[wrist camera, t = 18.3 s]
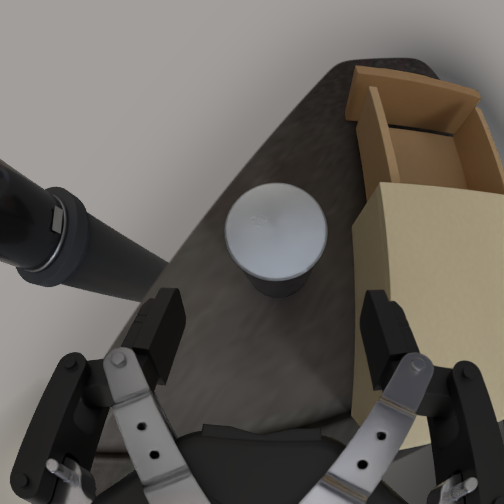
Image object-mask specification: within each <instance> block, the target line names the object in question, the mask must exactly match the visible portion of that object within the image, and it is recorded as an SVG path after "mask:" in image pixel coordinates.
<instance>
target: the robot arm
mask: <svg viewBox="0 0 504 504" xmlns="http://www.w3.org/2000/svg"><path fill="white" fill-rule="evenodd" d="M68 224H69V219H68V212H67V208H66V206H65V204H64V202H63V201H62V200H61V199H60V198H58V197H56V196H55V195H52V194H50V193H49V192H47V191H46V190H44V189H43V188H41V187H40V186H38V185H37V184H36V183H34V182H33V181H31V180H29V179H28V178H27V177H25V176H24V175H22V174H21V173H19V172H18V171H17V170H15V169H14V168H12V167H11V166H9V165H8V164H6V163H5V162H4V161H2V160H1V159H0V261H1V262H4V263H7V264H10V265H13V266H16V267H19V268H22V269H24V270H26V271H29V272H33V273H39V272H42V271H44V270H46V269H47V268H49V267H50V266H51V265H52V264H53V263H54V262H55V260H56V259H57V257H58V256H59V254H60V252H61V250H62V248H63V246H64V243H65V240H66V237H67V232H68ZM185 324H186V315H185V311H184V307H183V303H182V299H181V295H180V291H179V289H178V288H160V290H159V292H158V294H157V296H156V298H155V299H152V298H150V299H149V300H148V301H147V302H146V303H144V304H143V305H142V307H141V309H140V310H139V312H138V316H136V318H135V320H134V323H133V324H132V326H131V328H130V330H129V332H128V334H127V336H126V338H125V339H124V341H123V343H122V345H121V347H119V348H115V349H113V350H111V351H110V352H109V353H108V354H107V355H106V356H105V358H104V359H99V360H90V361H87V360H86V359H85V357H84V356H83V355H82V354H81V353H77V352H73V353H69V354H67V355H65V356H64V357H63V358H62V359H61V360H60V362H59V363H58V365H57V367H56V369H55V371H54V373H53V375H52V377H51V379H50V381H49V383H48V385H47V387H46V389H45V391H44V393H43V396H42V397H41V400H40V402H39V404H38V406H37V408H36V411H35V413H34V415H33V417H32V420H31V422H30V424H29V427H28V429H27V432H26V434H25V437H24V439H23V442H22V444H21V447H20V449H19V452H18V455H17V458H16V460H15V463H14V466H13V469H12V472H11V475H10V484H11V487H12V490H13V491H14V492H15V494H16V495H18V496H19V497H20V498H22V499H24V500H26V501H28V502H31V503H32V504H408V503H407V502H406V501H405V500H404V499H403V498H402V497H400V496H399V495H398V494H397V493H396V492H395V491H393V489H392V488H391V487H389V486H388V485H387V484H386V483H385V482H384V481H383V480H382V477H383V475H384V474H385V472H386V471H387V469H388V468H389V466H390V464H391V463H392V461H393V459H394V458H395V456H396V454H397V453H398V451H399V449H400V447H401V445H402V444H403V442H404V440H405V438H406V436H407V434H408V432H409V431H410V429H411V427H412V425H413V423H414V421H415V418H416V416H417V415H419V416H426V417H427V422H428V427H429V433H430V439H431V445H432V452H433V459H434V466H435V475H436V485H437V486H436V487H434V488H433V489H432V490H431V492H430V493H429V495H428V498H427V504H504V445H503V441H502V438H501V433H500V429H499V426H498V422H497V419H496V415H495V412H494V409H493V406H492V402H491V399H490V396H489V393H488V390H487V387H486V385H485V382H484V379H483V376H482V374H481V371H480V369H479V368H478V367H477V365H475V364H474V363H472V362H470V361H466V360H462V361H459V362H457V363H456V364H455V365H454V367H453V368H445V367H439V366H435V365H433V363H432V361H431V360H430V359H429V358H428V357H427V356H425V355H424V354H421V353H420V351H419V348H418V346H417V343H416V340H415V338H414V335H413V333H412V330H411V328H410V327H409V323H408V320H407V319H406V315H405V313H404V311H403V308H402V307H401V306H400V305H399V304H398V303H397V302H396V301H389V300H388V297H387V295H386V292H385V290H383V289H380V290H367V291H366V293H365V297H364V302H363V306H362V310H361V314H360V322H359V325H360V332H361V336H362V341H363V345H364V349H365V353H366V358H367V362H368V367H369V372H370V377H371V381H372V386H373V391H378V390H382V395H381V396H380V397H379V399H378V400H377V402H376V403H375V405H374V407H373V408H372V410H371V411H370V413H369V414H368V416H367V418H366V419H365V421H364V422H363V424H362V425H361V426H360V428H359V429H358V431H357V432H356V434H355V435H354V437H353V438H352V439H351V441H350V442H349V444H348V445H347V446H346V445H345V444H343V443H342V442H340V441H338V440H336V439H333V438H330V437H327V436H322V435H321V428H312V429H289V430H285V431H280V432H275V433H270V434H265V435H259V434H255V433H251V432H248V431H244V430H241V429H238V428H234V427H230V426H219V425H209V424H203V428H202V431H198V432H193V433H190V434H186V435H184V436H182V437H180V438H178V436H177V435H176V433H175V431H174V429H173V428H172V426H171V424H170V422H169V420H168V418H167V416H166V414H165V412H164V410H163V408H162V406H161V404H160V402H159V400H158V398H157V396H156V394H155V392H154V390H155V387H156V384H159V385H166V382H167V379H168V376H169V373H170V370H171V367H172V364H173V361H174V358H175V355H176V352H177V349H178V346H179V343H180V340H181V337H182V334H183V331H184V329H185ZM110 407H112V409H113V412H114V415H115V418H116V421H117V424H118V427H119V429H120V432H121V435H122V437H123V440H124V443H125V445H126V448H127V450H128V453H129V455H130V457H131V460H132V462H133V465H134V467H135V469H136V470H134V471H133V472H131V473H130V474H129V475H127V476H126V477H124V478H123V479H121V480H120V481H119V482H117V483H116V484H114V485H113V486H111V487H110V488H108V489H107V490H105V491H104V492H102V493H100V494H99V495H98V496H97V497H96V494H95V492H96V487H95V479H94V477H93V475H92V474H91V473H90V470H91V467H92V463H93V460H94V456H95V453H96V449H97V446H98V443H99V440H100V436H101V433H102V430H103V427H104V424H105V421H106V418H107V415H108V412H109V409H110Z"/></svg>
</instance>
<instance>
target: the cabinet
mask: <svg viewBox="0 0 504 504" xmlns="http://www.w3.org/2000/svg"><path fill="white" fill-rule="evenodd" d="M352 238H353V255H354V279H355V356H354V379H353V395H352V409H351V416H352V417H353V418H354V419H355V421H356V422H357V423H358V424H359V426H361V425H362V424H363V422H364V421H365V419H366V418H367V416H368V414H369V413H370V411H371V410H372V408H373V407H374V405H375V403H376V402H377V400H378V399H379V397H380V396H381V395H382V390H378V391H373V386H372V381H371V377H370V372H369V367H368V362H367V358H366V353H365V349H364V345H363V341H362V336H361V332H360V325H359V322H360V314H361V310H362V306H363V302H364V297H365V293H366V291H367V290H380V289H383V290H385V292H386V295H387V297H388V300H389V301H396V302H397V303H398V304H399V305H400V306H401V307H402V308H403V311H404V313H405V315H406V319H407V320H408V323H409V327H410V328H411V330H412V333H413V335H414V338H415V340H416V343H417V346H418V348H419V351H420V353H421V354H424V355H425V356H427V357H428V358H429V359H430V360H431V361H432V363H433V365H435V366H439V367H445V368H453V367H454V365H455V364H456V363H457V362H459V361H462V360H466V361H470V362H472V363H474V364H475V365H477V367H478V368H479V369H480V371H481V374H482V376H483V379H484V382H485V385H486V387H487V390H488V393H489V396H490V399H491V402H492V406H493V409H494V412H495V415H496V419H497V422H499V421H501V420H504V195H502V194H496V193H489V192H481V191H474V190H466V189H457V188H448V187H438V186H427V185H416V184H403V183H388V182H380V183H379V184H378V186H377V188H376V189H375V191H374V192H373V194H372V196H371V197H370V199H369V200H368V202H367V203H366V205H365V207H364V208H363V210H362V211H361V213H360V214H359V216H358V217H357V219H356V220H355V222H354V223H353V225H352ZM429 443H431V439H430V433H429V427H428V422H427V417H426V416H419V415H417V416H416V418H415V421H414V423H413V425H412V427H411V429H410V431H409V432H408V434H407V436H406V438H405V440H404V442H403V444H402V445H401V447H400V449H399V450H401V449H407V448H411V447H416V446H421V445H425V444H429Z"/></svg>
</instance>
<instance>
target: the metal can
mask: <svg viewBox="0 0 504 504" xmlns="http://www.w3.org/2000/svg"><path fill="white" fill-rule="evenodd" d="M327 237H328V227H327V221H326V217H325V215H324V212H323V210H322V208H321V207H320V205H319V204H318V203H317V201H316V200H315V199H314V198H313V197H312V196H311V195H310V194H308V193H307V192H306V191H304V190H302V189H301V188H298V187H296V186H293V185H290V184H285V183H267V184H262V185H259V186H256V187H254V188H252V189H250V190H248V191H247V192H245V193H244V194H243V195H241V196H240V197H239V198H238V199H237V200H236V201H235V203H234V204H233V205H232V207H231V209H230V210H229V213H228V215H227V218H226V221H225V227H224V238H225V243H226V247H227V250H228V252H229V254H230V256H231V257H232V259H233V261H234V262H235V263H236V264H237V266H238V267H239V268H240V269H241V270H242V271H243V272H244V273H245V274H246V276H247V277H248V279H249V280H250V282H251V283H252V284H253V286H254V287H255V288H256V289H257V290H258V291H259V292H261V293H262V294H264V295H266V296H269V297H273V298H283V297H287V296H290V295H292V294H294V293H296V292H297V291H298V290H299V289H301V287H302V286H303V285H304V283H305V282H306V280H307V278H308V276H309V274H310V273H311V271H312V269H313V267H314V266H315V264H316V263H317V262H318V260H319V259H320V257H321V256H322V254H323V251H324V249H325V246H326V243H327Z"/></svg>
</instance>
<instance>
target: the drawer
mask: <svg viewBox="0 0 504 504" xmlns="http://www.w3.org/2000/svg"><path fill="white" fill-rule="evenodd" d="M480 100H481V97H480V95H479V93H478V91H477V90H473V89H470V88H467V87H464V86H460V85H457V84H453V83H449V82H445V81H442V80H438V79H433V78H429V77H427V76H423V75H418V74H413V73H408V72H403V71H397V70H391V69H384V68H372V67H364V66H355V70H354V75H353V79H352V83H351V88H350V92H349V96H348V101H347V105H346V109H345V117H346V120H349V121H358V123H357V127H356V133H357V139H358V144H359V150H360V156H361V162H362V169H363V176H364V183H365V190H366V198H367V202H368V200H369V199H370V197H371V196H372V194H373V192H374V191H375V189H376V188H377V186H378V184H379V183H380V182H388V183H403V184H416V185H427V186H438V187H448V188H457V189H466V190H474V191H481V192H489V193H496V194H502V195H504V169H503V166H502V163H501V160H500V157H499V154H498V151H497V149H496V146H495V143H494V140H493V138H492V135H491V133H490V131H489V128H488V125H487V123H486V121H485V118H484V116H483V114H482V112H481V110H480V108H477V107H476V105H477V104H478V102H479V101H480ZM388 124H393V125H401V126H408V127H416V128H422V129H429V130H435V131H440V132H446V133H451V134H455V135H454V136H453V137H449V136H443V135H438V134H431V133H425V132H418V131H411V130H404V129H396V128H388Z"/></svg>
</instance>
